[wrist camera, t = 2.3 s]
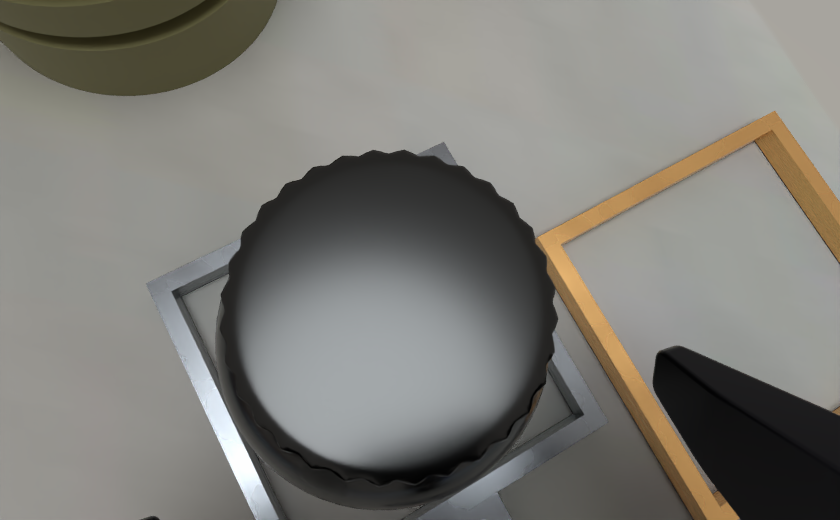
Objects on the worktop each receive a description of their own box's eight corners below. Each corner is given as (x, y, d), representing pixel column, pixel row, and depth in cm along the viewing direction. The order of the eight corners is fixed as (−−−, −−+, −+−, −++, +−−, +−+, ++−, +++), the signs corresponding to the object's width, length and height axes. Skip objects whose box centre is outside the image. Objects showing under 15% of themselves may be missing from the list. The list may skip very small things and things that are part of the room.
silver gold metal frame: (970, 426, 21) (999, 428, 20) (414, 840, 16) (418, 868, 15) (693, 31, 24) (708, 16, 23) (156, 289, 19) (145, 283, 18)
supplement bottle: (319, 234, 20) (256, 17, 8) (499, 293, 20) (678, 160, 9) (247, 423, 18) (45, 477, 7) (444, 487, 19) (576, 647, 7)
